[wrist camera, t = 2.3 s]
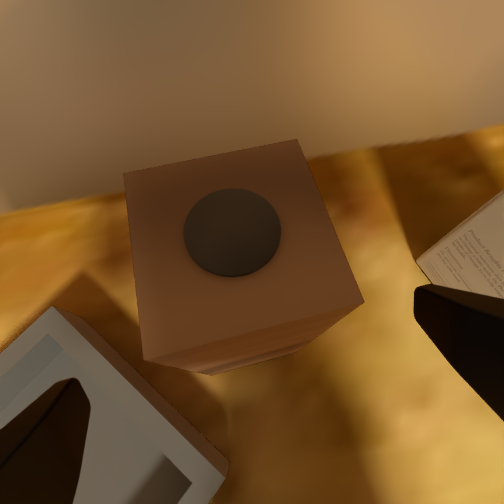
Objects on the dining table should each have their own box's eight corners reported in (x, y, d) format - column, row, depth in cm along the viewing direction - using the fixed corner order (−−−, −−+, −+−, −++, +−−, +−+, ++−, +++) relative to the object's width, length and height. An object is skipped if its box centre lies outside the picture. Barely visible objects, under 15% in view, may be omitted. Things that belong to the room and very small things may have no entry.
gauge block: (294, 352, 18) (366, 300, 7) (211, 375, 17) (141, 359, 6) (271, 275, 20) (297, 135, 9) (196, 293, 19) (121, 169, 8)
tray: (230, 462, 16) (225, 478, 13) (32, 747, 12) (-34, 857, 9) (81, 317, 19) (52, 305, 16) (-115, 508, 15) (-198, 536, 12)
